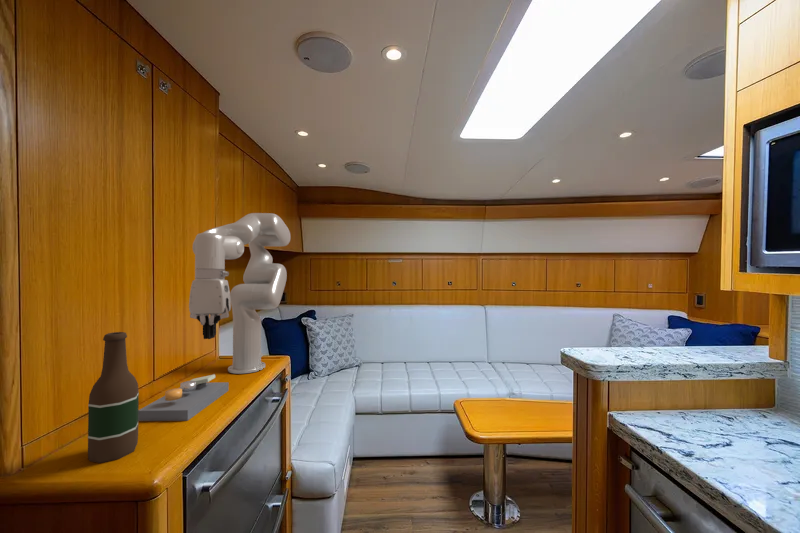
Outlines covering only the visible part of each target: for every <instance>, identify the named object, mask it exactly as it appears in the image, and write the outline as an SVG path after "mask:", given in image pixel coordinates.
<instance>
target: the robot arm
mask: <svg viewBox="0 0 800 533" xmlns="http://www.w3.org/2000/svg"><path fill="white" fill-rule="evenodd" d="M289 229H290V228H288V226H287V224H285V222H284V220H283V219H282V218H281V217H280V216H279V215H278V214H275V213H272V212H271V213H269V212H268V213H267V212H263V213H262V212H251V213H248V214H246V215H244V216H243V217H241V218H240V219H238V220H237V221H235V222H233V223H228V224H224V225H221V226H215V227H212V228H210V229H207V230H205V231H203V232H201V233H197V235H195V238H194V240H193V242H192V252H193V254H194V255H195V256H194V260H195V261H194V280H192V282H191V286H190V291H189V299H188V300H189V301H188V302H189V303H188V309H189V310H188V311H189V313H190V314H189V318H191V319H194V320H197V321H198V322H199V323H200V325H201V326H202V336H203V340H211V339H214V338H216V335H217V324H218V323H219V322H220V320H222V319H226V318H229V317H230V314H229V312H230V311H231V309H232V364H231V365H230V366H228V368H227V372H228V373H231V374H236V375H237V374H239V375H240V374H241V375H243V374H250V373H256V372H259V370H260V371H262V370H264V369H265V368H266V363H265V362H263V361H262V357H263V356H264V354H263V352H262V320H261V317H260V315H259V314H258V312H257V311H256V310H275V309H277V308H278V307H279V306H280V303H281V300H282V298H283V295H284V294H283V293H284V291H285V287H286V282H287V277H288V276H287V274H288V273H287V268H286V267H285V266H284V265H283V264H281V263H274V262H273V259H274V258H273V256H272V255H271V253H270V252H269V251H268V250H267V249H266V247H286V246H288V245H289V243H291V238H292V237H291V231H290V230H289ZM245 245H248V248H249V252H250V258H249V261H248V263H247V266H246V268H245V271H244V273H243V277H242V278H243V279H242V280H243V282H244V283H239V284H237V285H234V286H233V287H232V289H231V290H230V286H229V281H228V280H227V279H225V278H226V277H229V275H230V271H226V269H225V268H226V266H225V264H226V262H225V261H226V260H236V259H239V258H241V257H242V256H243V254H244V252H245ZM263 368H264V369H263Z"/></svg>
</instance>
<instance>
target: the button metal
mask: <svg viewBox="0 0 800 533" xmlns="http://www.w3.org/2000/svg"><path fill="white" fill-rule="evenodd" d="M179 388H180V389H182V392H188V391H192V390H195V389H196V381H190V380H186V381H183V382H181V383H180V387H179Z"/></svg>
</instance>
